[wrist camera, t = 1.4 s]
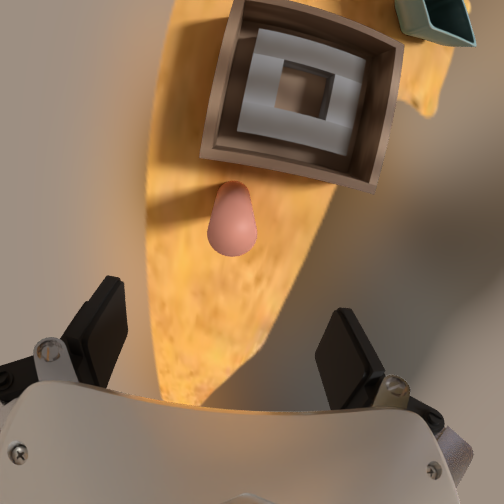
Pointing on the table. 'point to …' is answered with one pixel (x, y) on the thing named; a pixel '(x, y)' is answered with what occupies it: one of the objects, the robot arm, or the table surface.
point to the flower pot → (436, 21)
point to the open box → (303, 94)
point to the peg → (232, 221)
